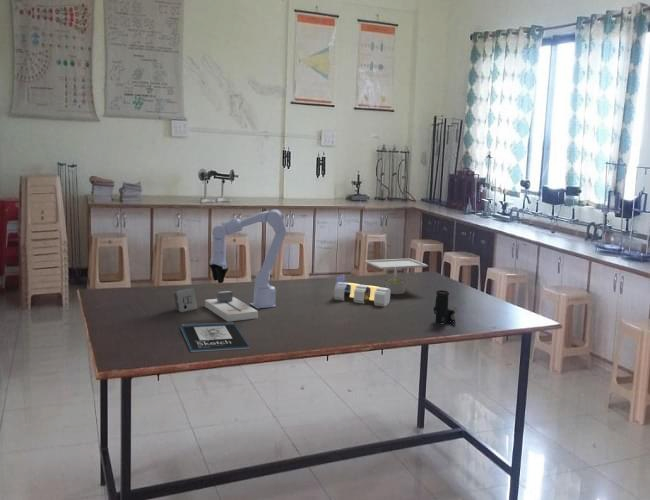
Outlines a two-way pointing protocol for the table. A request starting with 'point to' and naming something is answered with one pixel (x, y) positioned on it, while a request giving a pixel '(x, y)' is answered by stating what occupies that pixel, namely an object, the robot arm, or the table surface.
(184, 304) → the electrical switch
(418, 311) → the table surface
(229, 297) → the fader tab
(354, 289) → the gray yellow segmented block
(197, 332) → the sketchbook
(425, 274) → the table surface
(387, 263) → the solar panel model
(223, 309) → the white flat rectangular block
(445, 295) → the scope
